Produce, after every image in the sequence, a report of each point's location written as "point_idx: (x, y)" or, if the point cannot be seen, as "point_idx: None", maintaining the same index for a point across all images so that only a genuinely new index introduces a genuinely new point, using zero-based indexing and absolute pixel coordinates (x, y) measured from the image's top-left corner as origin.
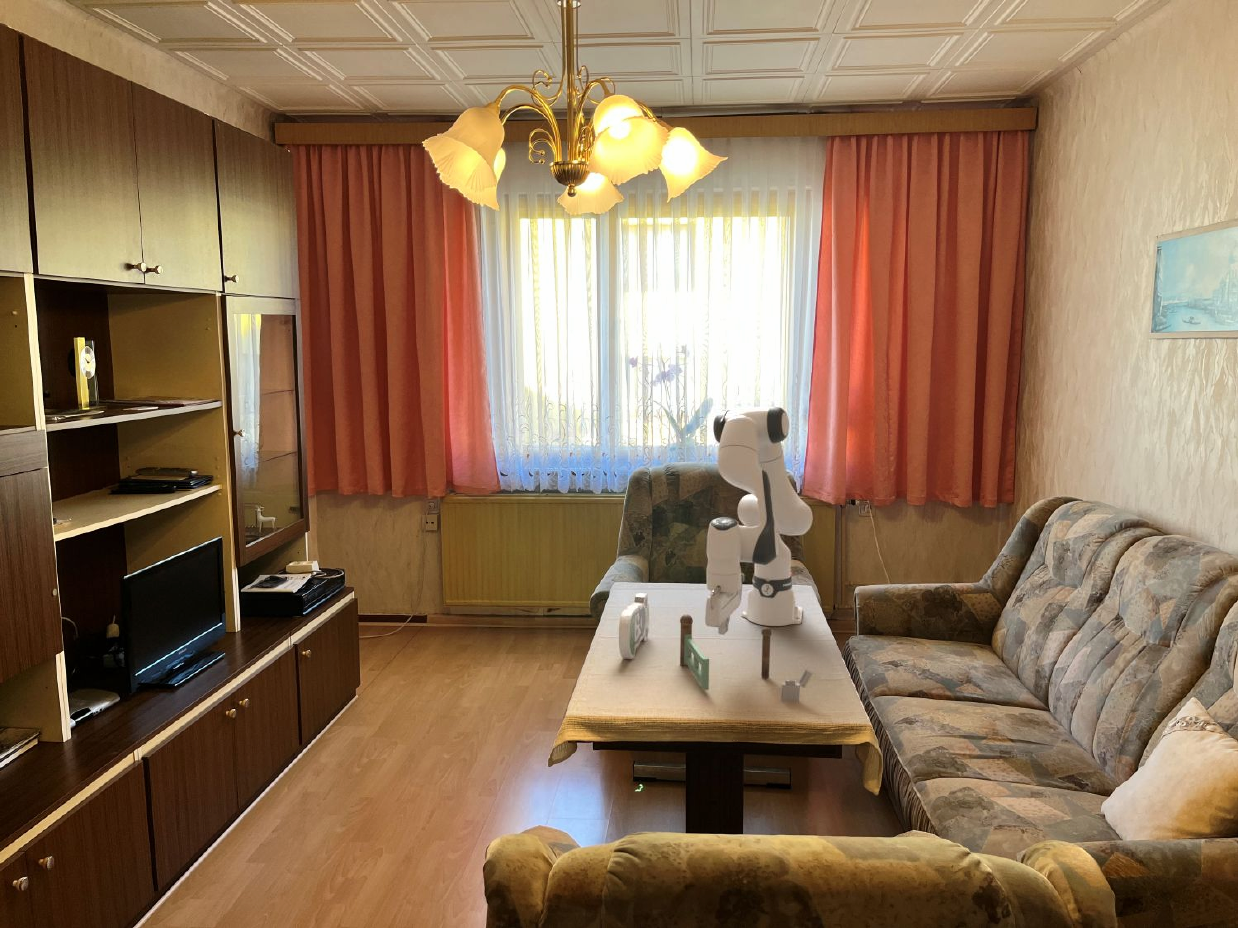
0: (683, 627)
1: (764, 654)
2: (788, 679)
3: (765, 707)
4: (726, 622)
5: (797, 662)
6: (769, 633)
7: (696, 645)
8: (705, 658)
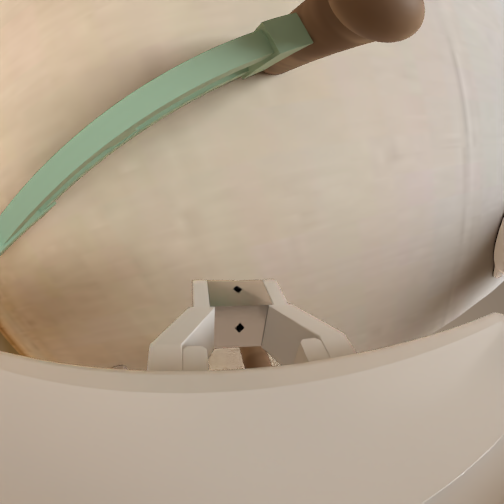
0: None
1: (244, 365)
2: None
3: (65, 347)
4: (279, 351)
5: (352, 336)
6: None
7: (140, 117)
8: None
